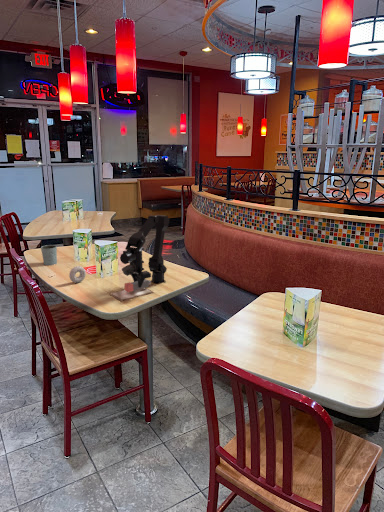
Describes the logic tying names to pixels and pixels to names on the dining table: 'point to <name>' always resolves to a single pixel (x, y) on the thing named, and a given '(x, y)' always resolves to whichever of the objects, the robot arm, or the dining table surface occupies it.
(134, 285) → the marker
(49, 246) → the gray cup
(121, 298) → the picture frame
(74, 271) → the donut
